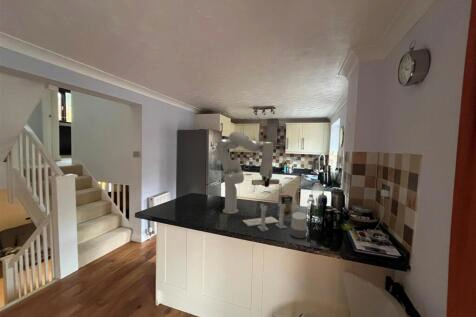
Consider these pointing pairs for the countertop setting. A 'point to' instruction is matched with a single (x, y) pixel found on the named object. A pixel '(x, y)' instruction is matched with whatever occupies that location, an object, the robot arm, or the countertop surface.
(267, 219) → the grey mat
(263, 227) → the metal standards
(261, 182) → the beech rail
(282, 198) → the coffee box
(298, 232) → the smart speaker
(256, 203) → the countertop surface
